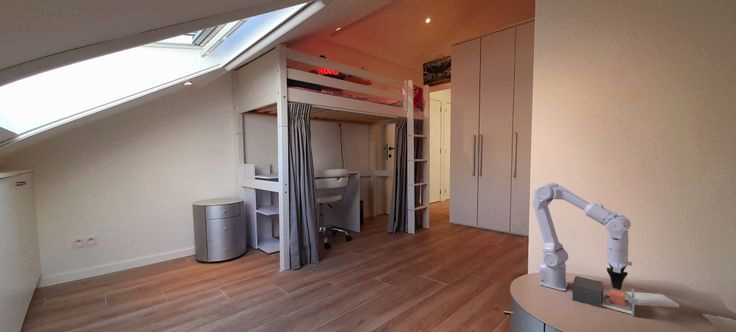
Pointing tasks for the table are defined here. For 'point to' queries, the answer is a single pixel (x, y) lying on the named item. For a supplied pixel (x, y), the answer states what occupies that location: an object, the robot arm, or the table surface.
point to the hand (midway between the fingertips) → (616, 284)
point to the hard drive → (652, 299)
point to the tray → (627, 306)
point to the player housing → (587, 291)
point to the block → (617, 297)
